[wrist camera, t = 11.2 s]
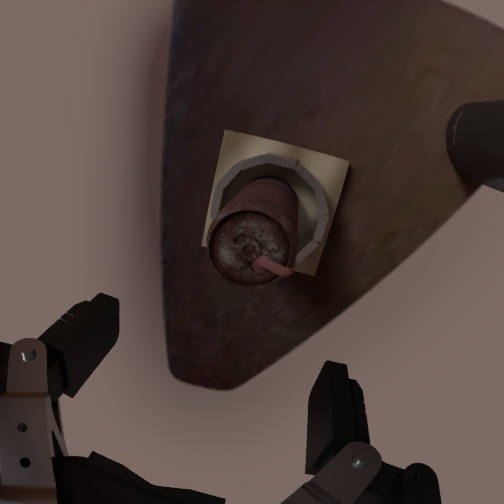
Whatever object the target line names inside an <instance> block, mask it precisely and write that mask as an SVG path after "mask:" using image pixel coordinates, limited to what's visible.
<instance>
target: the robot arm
mask: <svg viewBox="0 0 504 504" xmlns="http://www.w3.org/2000/svg"><path fill="white" fill-rule="evenodd" d="M446 144H447V149H448V153H449V156H450V158H451V161H452V162H453V164H454V166H455V168H456V169H457V170H458V171H459V172H460V173H461V174H462V175H463V176H465V177H466V178H468V179H470V180H472V181H475V182H478V183H481V184H483V185H486V186H488V187H491V188H494V189H496V190H499V191H501V192H504V100H497V101H484V102H474V103H468V104H464V105H462V106H461V107H459V108H458V109H457V110H456V111H455V112H454V113H453V115H452V116H451V118H450V120H449V123H448V126H447V133H446ZM118 336H119V300H118V299H117V298H114V297H112V296H109V295H106V294H103V293H99V294H98V295H97V296H95V297H94V298H93V299H92V300H91V301H90V302H89V301H83V302H81V303H78V304H76V305H74V306H73V307H72V308H71V309H70V310H68V311H67V313H66V314H64V315H63V316H62V317H61V318H60V319H58V320H57V321H56V322H55V323H54V324H53V325H52V326H51V327H49V328H48V329H47V330H46V331H45V332H44V333H43V334H42V335H41V336H40V337H39V338H38V339H34V338H24V339H21V340H19V341H17V342H15V343H14V344H13V345H11V344H7V343H3V342H0V471H1V473H0V504H225V500H226V499H224V498H220V497H216V496H212V495H208V494H205V493H201V492H198V491H194V490H191V489H180V488H171V487H162V486H156V485H153V484H150V483H149V482H147V481H146V480H144V479H143V478H141V477H140V476H138V475H137V474H135V473H134V472H132V471H131V470H129V469H128V468H127V467H125V466H124V465H122V464H120V463H118V462H115V461H113V460H111V459H109V458H106V457H104V456H102V455H100V454H98V453H96V452H94V451H92V453H91V454H90V456H89V457H88V458H87V457H80V456H69V455H68V452H67V448H66V445H65V440H64V433H63V426H62V420H61V411H60V403H59V397H60V396H61V395H62V394H63V393H64V394H66V395H68V396H70V397H71V398H73V397H74V396H75V395H76V393H77V392H78V391H79V389H80V388H81V387H82V385H83V384H84V383H85V382H86V380H87V379H88V378H89V377H90V375H91V374H92V373H93V371H94V370H95V369H96V368H97V366H98V365H99V364H100V362H101V361H102V360H103V359H104V357H105V356H106V355H107V354H108V352H109V351H110V350H111V349H112V347H113V346H114V345H115V343H116V341H117V339H118ZM365 410H366V409H365V404H364V396H363V390H362V389H361V387H360V386H359V384H358V383H357V381H356V380H353V379H349V377H348V369H347V365H346V364H342V363H337V362H332V361H328V360H327V361H326V362H325V364H324V365H323V368H322V369H321V372H320V373H319V376H318V378H317V380H316V382H315V384H314V386H313V388H312V390H311V393H310V396H309V402H308V424H307V427H308V428H307V447H306V466H305V474H310V475H315V476H314V477H313V478H312V479H311V480H310V481H309V482H306V483H305V484H303V485H302V486H301V487H300V488H298V489H297V490H296V491H295V492H294V493H293V494H291V495H290V496H289V497H288V498H287V499H286V500H284V501H283V502H282V503H281V504H442V503H441V496H440V490H439V483H438V478H437V475H436V474H435V472H434V471H433V469H431V468H430V467H429V466H427V465H425V464H422V463H413V464H411V465H409V466H408V467H407V468H406V469H405V470H404V469H401V468H398V467H396V466H393V465H390V464H387V463H385V462H383V461H382V459H381V456H380V454H379V452H378V451H377V450H376V449H375V448H374V447H373V446H371V445H370V438H369V431H368V424H367V416H366V412H365Z"/></svg>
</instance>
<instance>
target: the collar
mask: <svg viewBox="0 0 504 504" xmlns="http://www.w3.org/2000/svg"><path fill="white" fill-rule="evenodd" d="M264 163H271V164H275V165H279V166H282V167H286V168H290V169H294V170H295V171H296V172H297V173H298V174H299V175H300V176H301V177H302V178H303V179H304V180H305V181H306V182H307V183H308V184H309V185H310V186H311V187H312V188H313V189H314V192H315V196H316V200H317V203H318V208H317V211H316V214H315V218H314V221H313V225H312V228H310V229H309V230H308V231H307V232H306V233H305V234H304V235H303V236H302V237H301V238H300V239H299V240H298V241H297V256H296V259H295V260H296V264H297V261H298V262H299V263H300V262H301V261H302V260H303V259H304V258H305V257H306V256H307V255H309V254H310V253H311V252H312V251H313V250H314V249H315V248H316V247H317V246H319V242H321V240H322V237H323V234H324V231H325V228H326V224H327V221H328V218H329V215H328V214H329V211H328V207H327V203H326V199H325V195H324V192H323V188H322V185H321V182H320V180H319V178H318V177H317V176H316V175H315V174H314V173H313V172H312V171H311V170H310V169H309V168H308V167H307V166H306V165H305V164H304V163H303V162H302V161H301V160H299V161H298V162H297V158H296V157H292V156H288V155H284V154H280V153H276V152H271V153H270V152H266V153H262V154H259V155H256V156H252V157H249V158H245V159H243V160H241V161H239V162H237V163H235V164H234V165H233V166H232V167H231V169H230V170H229V171H228V172H227V173H226V174H225V175H224V176H223V177H222V178H221V179H220V181H219V182H218V183H217V186H215V189H214V194H213V199H212V204H211V210H210V213H212V214H211V215H210V217H211V220H212V221H213V220H214V218H215V217H216V216H217V214H218V213H219V212H220V211H221V210H222V209H223V208H224V207H225V206H226V205H227V203H228V199H229V194H230V189H231V185H232V182H233V181H234V180H235V179H236V178H237V177H238V176H239V175H240V174H241V173H242V171H243V170H244V169H247V168H250V167H253V166H257V165H260V164H264Z"/></svg>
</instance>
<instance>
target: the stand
mask: <svg viewBox="0 0 504 504" xmlns="http://www.w3.org/2000/svg"><path fill="white" fill-rule="evenodd" d="M266 152H270V153H271V152H276V153H280V154H284V155H288V156H292V157H296V158H297V162H298V161H299V160H301V161H302V162H303V163H304V164H305V165H306V166H307V167H308V168H309V169H310V170H311V171H312V172H313V173H314V174H315V175H316V176H317V177H318V178H319V180H320V182H321V185H322V188H323V192H324V195H325V199H326V203H327V207H328V211H329V214H328V215H329V218H328V221H327V224H326V228H325V231H324V234H323V237H322V240H321V242H319V246H317V247H316V248H315V249H314V250H313V251H312V252H311V253H310V254H309V255H307V256H306V257H305V258H304V259H303V260H302V261H301V262H300V263H299V262H298V261H297V264H295V269H294V271H297V272H301V273H305V274H309V275H313V276H315V273H316V270H317V267H318V264H319V261H320V258H321V255H322V252H323V249H324V246H325V242H326V239H327V236H328V233H329V230H330V227H331V224H332V220H333V217H334V214H335V211H336V207H337V204H338V201H339V197H340V194H341V190H342V187H343V184H344V180H345V177H346V173H347V170H348V166H349V161H347V160H343V159H340V158H337V157H333V156H330V155H326V154H323V153H320V152H316V151H312V150H309V149H305V148H301V147H298V146H294V145H290V144H286V143H282V142H278V141H274V140H270V139H266V138H261V137H257V136H253V135H248V134H244V133H239V132H234V131H230V130H225V132H224V137H223V141H222V146H221V150H220V155H219V160H218V164H217V169H216V174H215V179H214V184H213V189H212V194H211V199H210V204H209V209H208V214H207V220H206V225H205V230H204V236H203V241H202V246H205V247H207V242H206V237H207V234H208V230H209V226H210V224H211V223H212V220H211V217H210V215H211V214H212V213H210V210H211V204H212V199H213V194H214V189H215V186H217V183H218V182H219V181H220V179H221V178H222V177H223V176H224V175H225V174H226V173H227V172H228V171H229V170H230V169H231V167H232V166H233V165H234V164H235V163H237V162H239V161H241V160H243V159H245V158H249V157H252V156H256V155H259V154H262V153H266ZM262 176H275V177H278V178H281V179H283V180H284V181H286V182H287V183H288V184H290V185H291V187H292V188H293V190H294V191H295V192H296V195H297V199H298V240H299V239H300V238H301V237H302V236H303V235H304V234H305V233H306V232H307V231H308V230H309V229H310V228H312V225H313V221H314V218H315V214H316V211H317V208H318V203H317V200H316V196H315V192H314V189H313V188H312V187H311V186H310V185H309V184H308V183H307V182H306V181H305V180H304V179H303V178H302V177H301V176H300V175H299V174H298V173H297V172H296V171H295V170H294V169H290V168H286V167H282V166H279V165H275V164H271V163H264V164H260V165H257V166H253V167H250V168H247V169H244V170H243V171H242V173H241V174H240V175H239V176H238V177H237V178H236V179H235V180H234V181H233V182H232V185H231V189H230V194H229V199H228V203H229V202H230V201H231V200H232V199H233V198H234V197H235V196H236V195H237V194H238V193H239V192H240V191H241V190H242V189H243V188H244V187H245V186H246V185H247V184H248V183H249V182H251V181H252V180H254V179H255V178H258V177H262ZM228 203H227V204H228Z"/></svg>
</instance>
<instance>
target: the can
mask: <svg viewBox="0 0 504 504" xmlns="http://www.w3.org/2000/svg"><path fill="white" fill-rule="evenodd" d="M297 241H298V199H297V195H296V192H295V191H294V190H293V188H292V187H291V185H290V184H288V183H287V182H286V181H284V180H283V179H281V178H278V177H275V176H262V177H258V178H255V179H254V180H252V181H251V182H249V183H248V184H247V185H246V186H245V187H244V188H243V189H242V190H241V191H240V192H239V193H238V194H237V195H236V196H235V197H234V198H233V199H232V200H231V201H230V202H229V203H228V204H227V205H226V206H225V207H224V208H223V209H222V210H221V211H220V212H219V213H218V214H217V216H216V217H215V218H214V220H213V221H212V223H211V224H210V226H209V230H208V234H207V237H206V242H207V252H208V256H209V258H210V261H211V263H212V266H213V268H214V269H215V270H216V272H217V273H218V274H219V275H220V277H222V278H223V279H224V280H226V281H227V282H229V283H230V284H232V285H234V286H237V287H240V288H243V289H259V288H264V287H268V286H270V285H272V284H274V283H275V282H277V281H279V280H281V279H282V278H283V277H287V276H290V275H291V274H293V273H294V269H295V264H296V260H295V259H296V256H297Z"/></svg>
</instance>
